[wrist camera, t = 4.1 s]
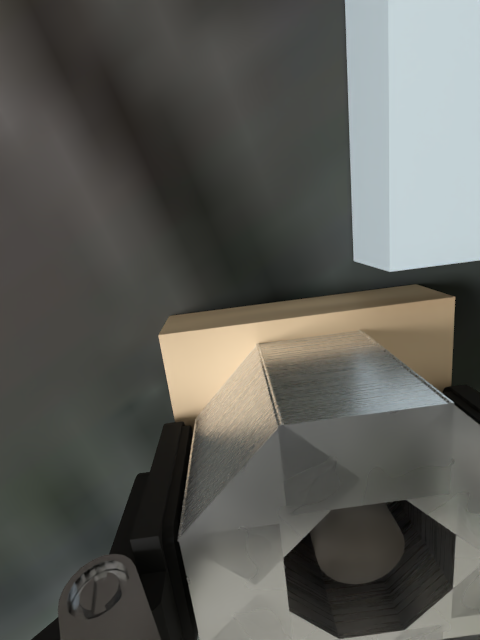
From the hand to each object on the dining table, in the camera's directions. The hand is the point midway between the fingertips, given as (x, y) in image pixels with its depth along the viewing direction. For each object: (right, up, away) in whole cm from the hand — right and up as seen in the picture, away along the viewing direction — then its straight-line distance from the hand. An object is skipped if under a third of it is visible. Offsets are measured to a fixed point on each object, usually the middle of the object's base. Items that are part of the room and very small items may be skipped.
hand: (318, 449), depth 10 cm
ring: (0, 0, 0) cm, 0 cm away
